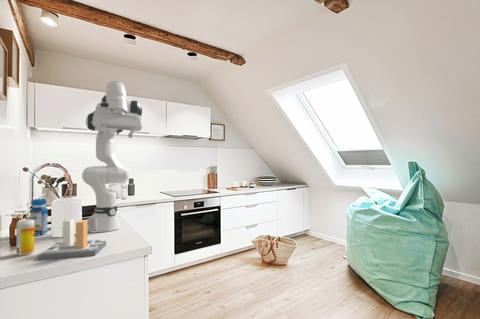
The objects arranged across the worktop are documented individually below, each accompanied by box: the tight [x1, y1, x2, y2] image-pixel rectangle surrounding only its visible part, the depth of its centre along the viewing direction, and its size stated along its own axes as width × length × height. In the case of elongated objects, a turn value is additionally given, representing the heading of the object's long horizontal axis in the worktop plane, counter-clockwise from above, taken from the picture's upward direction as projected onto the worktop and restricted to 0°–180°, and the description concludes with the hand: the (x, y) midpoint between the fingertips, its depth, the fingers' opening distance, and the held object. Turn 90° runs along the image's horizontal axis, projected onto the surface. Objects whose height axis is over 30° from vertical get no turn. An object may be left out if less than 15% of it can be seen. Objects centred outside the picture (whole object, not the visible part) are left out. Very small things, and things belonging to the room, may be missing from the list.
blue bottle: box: [28, 198, 49, 236], centre depth 146 cm, size 8×8×20 cm
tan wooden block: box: [75, 219, 88, 249], centre depth 114 cm, size 3×5×12 cm, turn 12°
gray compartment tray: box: [37, 218, 107, 260], centre depth 116 cm, size 22×15×14 cm
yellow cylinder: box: [16, 218, 35, 257], centre depth 114 cm, size 6×6×15 cm
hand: (119, 136), depth 111 cm, fingers open, 8 cm apart
